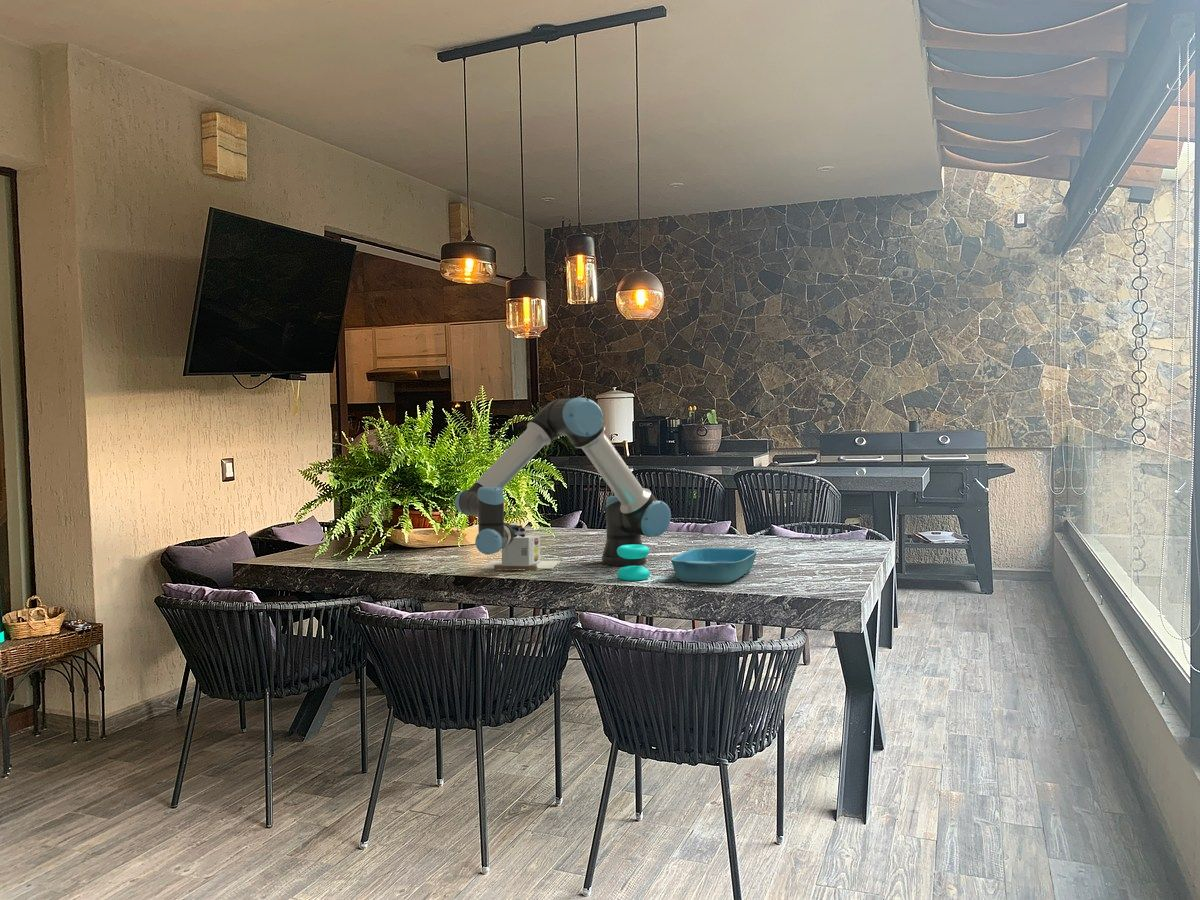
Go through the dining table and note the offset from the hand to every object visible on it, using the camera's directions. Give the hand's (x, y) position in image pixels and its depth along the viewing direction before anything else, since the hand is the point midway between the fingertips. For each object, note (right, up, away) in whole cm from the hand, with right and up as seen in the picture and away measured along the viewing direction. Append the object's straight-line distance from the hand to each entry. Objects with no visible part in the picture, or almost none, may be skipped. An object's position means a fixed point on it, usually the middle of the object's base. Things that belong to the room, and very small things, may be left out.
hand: (516, 526), depth 308 cm
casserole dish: (+63, -14, -18) cm, 67 cm away
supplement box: (0, -8, -5) cm, 9 cm away
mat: (+1, -14, +7) cm, 15 cm away
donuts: (+38, -14, -21) cm, 46 cm away
